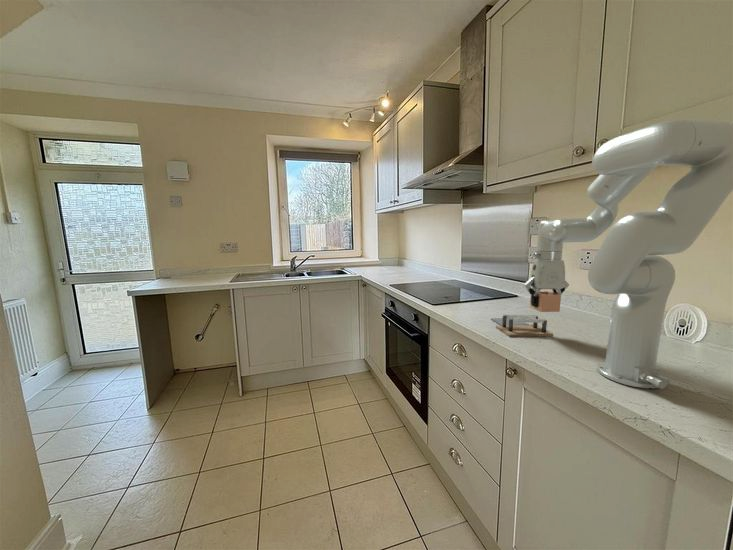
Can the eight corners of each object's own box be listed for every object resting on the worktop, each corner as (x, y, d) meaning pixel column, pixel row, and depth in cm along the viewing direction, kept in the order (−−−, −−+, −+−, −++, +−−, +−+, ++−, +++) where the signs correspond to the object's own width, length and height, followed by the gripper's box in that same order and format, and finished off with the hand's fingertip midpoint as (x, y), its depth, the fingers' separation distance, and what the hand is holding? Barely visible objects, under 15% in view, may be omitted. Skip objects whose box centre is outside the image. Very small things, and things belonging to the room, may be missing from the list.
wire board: (553, 335, 104) (553, 333, 104) (509, 336, 103) (509, 334, 103) (535, 326, 114) (535, 324, 114) (495, 327, 113) (495, 325, 113)
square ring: (559, 311, 101) (561, 294, 100) (541, 312, 101) (542, 295, 100) (547, 306, 107) (548, 290, 106) (529, 307, 107) (530, 291, 106)
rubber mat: (529, 325, 115) (529, 324, 115) (501, 326, 114) (502, 325, 114) (516, 319, 124) (516, 317, 123) (491, 319, 123) (491, 318, 123)
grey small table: (546, 332, 104) (548, 320, 104) (513, 333, 104) (514, 321, 103) (532, 325, 113) (533, 313, 112) (501, 326, 112) (502, 314, 111)
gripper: (531, 257, 97) (527, 309, 100) (581, 256, 98) (575, 308, 100) (518, 255, 104) (515, 304, 107) (565, 254, 105) (560, 303, 108)
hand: (544, 305), depth 104 cm, fingers closed on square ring, 6 cm apart
